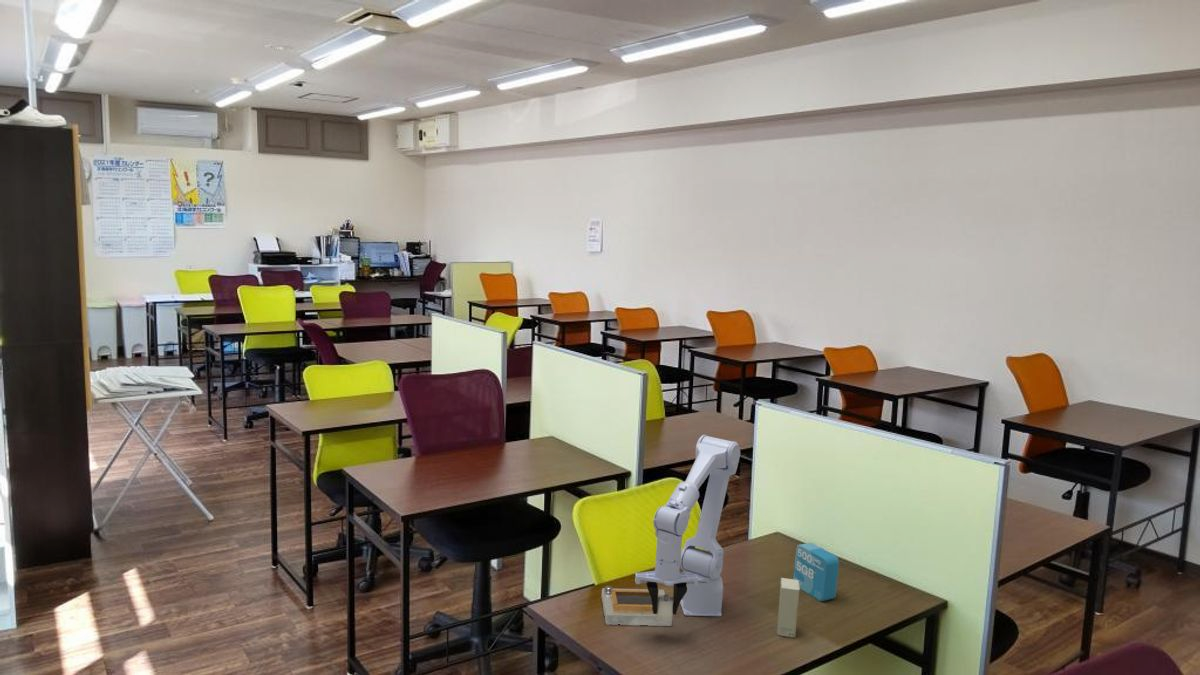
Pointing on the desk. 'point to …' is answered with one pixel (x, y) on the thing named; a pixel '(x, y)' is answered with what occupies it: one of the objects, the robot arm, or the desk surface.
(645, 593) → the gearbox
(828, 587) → the data package
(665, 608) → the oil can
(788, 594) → the skincare box
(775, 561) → the desk surface
